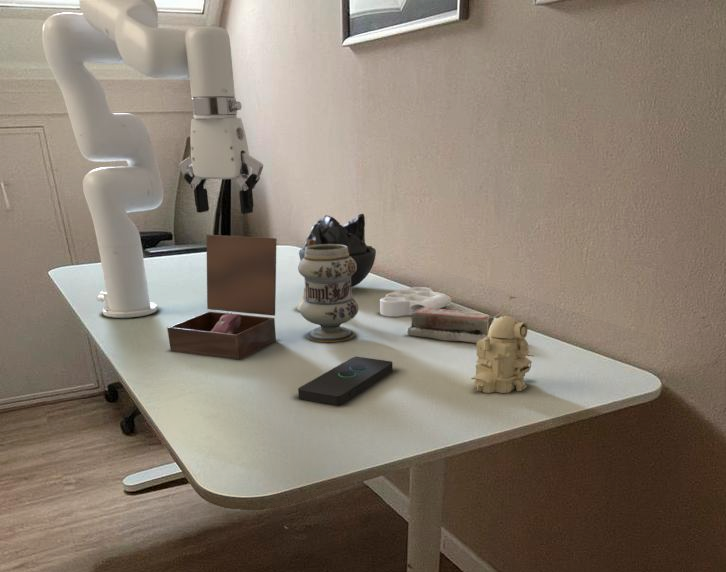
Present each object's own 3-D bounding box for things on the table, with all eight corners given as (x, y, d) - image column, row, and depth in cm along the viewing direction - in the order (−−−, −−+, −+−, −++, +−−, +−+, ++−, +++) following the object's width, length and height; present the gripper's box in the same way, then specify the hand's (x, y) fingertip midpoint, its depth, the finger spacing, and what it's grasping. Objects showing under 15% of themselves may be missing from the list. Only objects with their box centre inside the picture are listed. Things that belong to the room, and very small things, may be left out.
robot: (507, 400, 114) (515, 306, 107) (465, 389, 118) (470, 299, 112) (540, 383, 121) (549, 294, 114) (498, 374, 125) (505, 287, 118)
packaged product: (405, 313, 146) (424, 302, 154) (405, 336, 148) (423, 325, 156) (491, 321, 139) (505, 310, 147) (489, 346, 141) (503, 333, 149)
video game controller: (219, 357, 140) (231, 326, 136) (198, 346, 140) (209, 315, 136) (236, 343, 148) (248, 314, 145) (217, 333, 148) (228, 303, 145)
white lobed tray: (420, 321, 159) (365, 313, 166) (457, 305, 172) (405, 298, 179) (420, 306, 157) (365, 298, 164) (458, 291, 170) (405, 284, 178)
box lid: (274, 238, 139) (276, 238, 140) (206, 234, 145) (208, 234, 146) (273, 315, 144) (275, 315, 145) (207, 309, 150) (209, 309, 150)
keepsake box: (239, 359, 135) (236, 335, 133) (170, 350, 141) (167, 327, 139) (276, 340, 147) (274, 317, 144) (210, 333, 152) (208, 311, 150)
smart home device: (395, 361, 127) (339, 395, 112) (394, 370, 128) (340, 406, 112) (354, 355, 131) (295, 388, 115) (354, 364, 132) (295, 398, 116)
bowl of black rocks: (292, 296, 182) (288, 219, 174) (310, 280, 200) (307, 209, 191) (369, 298, 179) (368, 219, 171) (381, 282, 197) (381, 209, 188)
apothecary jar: (325, 325, 156) (322, 240, 148) (370, 333, 150) (369, 244, 142) (289, 338, 148) (283, 248, 140) (335, 347, 141) (332, 253, 133)
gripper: (267, 108, 126) (275, 211, 134) (186, 111, 132) (197, 209, 140) (245, 108, 120) (254, 216, 128) (161, 110, 126) (174, 213, 134)
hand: (224, 212), depth 134 cm, fingers open, 9 cm apart
